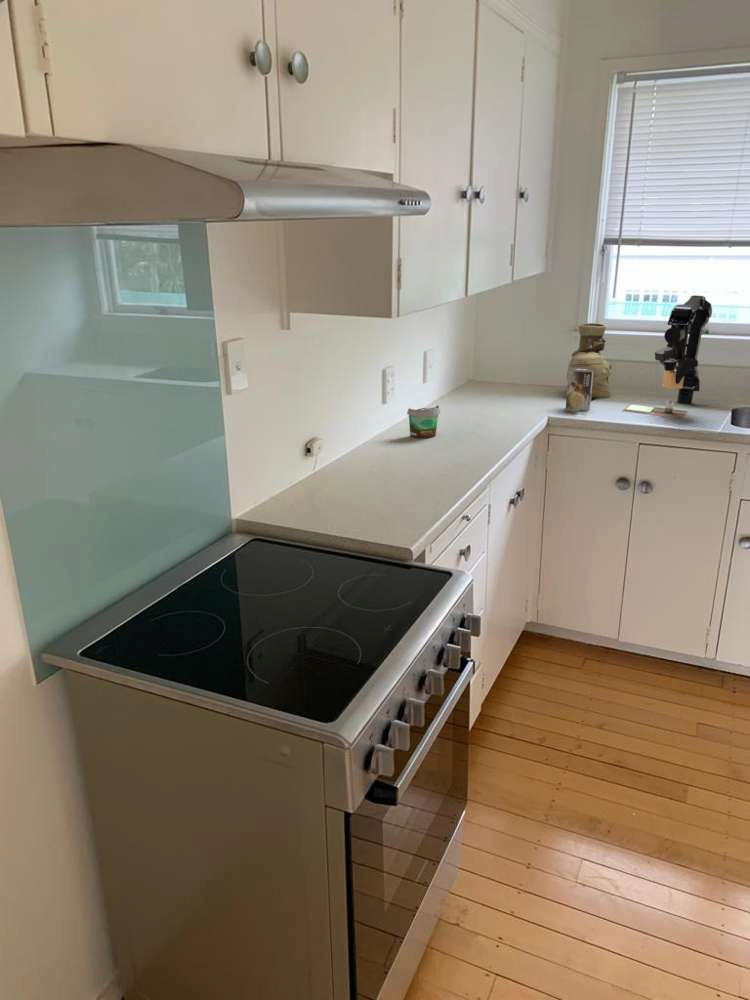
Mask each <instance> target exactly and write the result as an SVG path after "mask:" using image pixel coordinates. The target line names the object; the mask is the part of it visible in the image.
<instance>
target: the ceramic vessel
mask: <svg viewBox="0 0 750 1000" xmlns="http://www.w3.org/2000/svg"><path fill="white" fill-rule="evenodd" d="M606 329H607V325H606V324H602V323H594V322H587V323H586V322H585V323H579V324H578V331H579V345H578V346H579V347H578V349H576V350H575V351H574V352H572V354H571V357H572V358H571V360H570V361H569V364H568V367H567V374H566V375H567V376H566V377H567V379H566V380H567V381H568V374H569V370H570V369H571V368H577V369H591V370H594V372H593V382H592V393H591V400H596V399H608V398H610V395H611V390H610V383H609V377H610V376H611V375H612V364H611V363H610V362H609V361H608V360H606V359H605V358H604V356H603V354H602V353H601V351H605V343H606V342H607V340H606V339H605V338H603V337H604V334H605V331H606Z"/></svg>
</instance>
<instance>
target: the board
mask: <svg viewBox="0 0 750 1000" xmlns="http://www.w3.org/2000/svg"><path fill="white" fill-rule="evenodd" d="M630 405H634V404H633V403H632V404H631V403H630V404H629V405H627V406H626V407H625V408H623V409H622V410H621V412H625V413H631V414H632V413H633V414H641V415H646V416H647V415H648V416H656V417H665V418H673V419H680V420H681V419H683V417H684V416H685V415H686V414H687V413H688V412H689V410H682V409H681V410H680V409H675V408H673V413H672V414H667V413H664V410H665V407H664V408H663V407H658V406H657V407H656V406H654V407H655V409H654V410H653V411H651V412H650V413H644V412H636V411H629V410H626V409H627V408H628V407H629V406H630ZM637 405H638V406H643V405H640V404H637ZM646 406H647V405H646ZM647 407H651V406H647Z"/></svg>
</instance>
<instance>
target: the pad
mask: <svg viewBox="0 0 750 1000" xmlns="http://www.w3.org/2000/svg"><path fill="white" fill-rule="evenodd" d="M629 405H630V404H629ZM629 405H628V406H629ZM638 405H639V404H633V405H630V406H629V407H628V408H627V409H626V410H629V411H636V412H644V413H650V412H651V411H653V410H654V409H655V407H656V406H650V407H647V405H642V406H638Z"/></svg>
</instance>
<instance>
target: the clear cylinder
mask: <svg viewBox="0 0 750 1000" xmlns="http://www.w3.org/2000/svg"><path fill="white" fill-rule="evenodd" d="M674 406H675V401H674V400H669V399H668V400H666V401H665V405H664V408H665V410H664V413H667V414H672V413H673V409H674Z"/></svg>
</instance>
